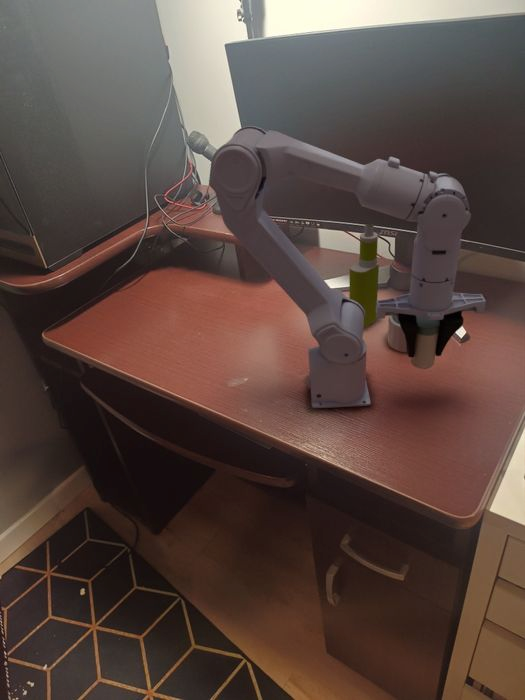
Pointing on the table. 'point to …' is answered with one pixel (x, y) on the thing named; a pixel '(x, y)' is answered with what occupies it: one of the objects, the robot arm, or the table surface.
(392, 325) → the light grey round cup
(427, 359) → the cylinder
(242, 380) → the table surface
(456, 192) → the robot arm
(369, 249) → the vape
